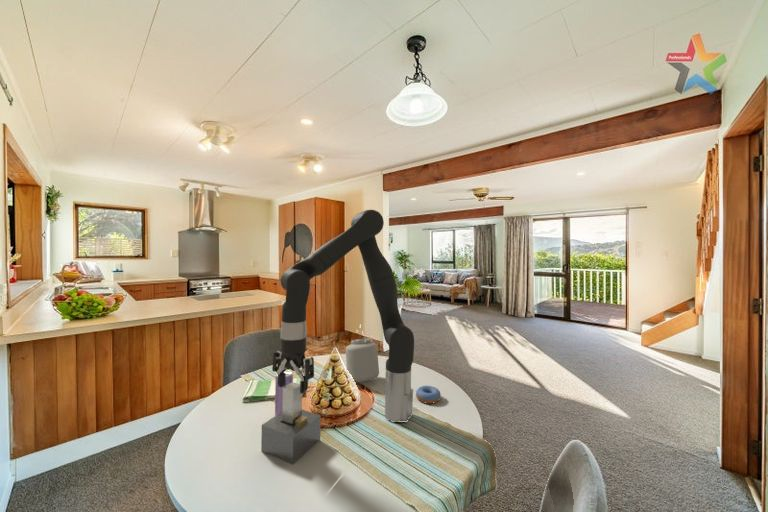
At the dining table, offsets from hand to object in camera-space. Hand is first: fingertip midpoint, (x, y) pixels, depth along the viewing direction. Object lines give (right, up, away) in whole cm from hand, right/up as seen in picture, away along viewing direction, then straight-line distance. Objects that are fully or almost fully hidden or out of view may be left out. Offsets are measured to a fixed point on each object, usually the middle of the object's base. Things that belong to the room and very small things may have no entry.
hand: (292, 389), depth 89 cm
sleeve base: (0, -17, 0) cm, 17 cm away
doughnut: (+46, -18, +31) cm, 58 cm away
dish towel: (-18, -18, +36) cm, 44 cm away
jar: (+17, -18, +49) cm, 55 cm away
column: (0, -17, 0) cm, 17 cm away
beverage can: (-8, -17, +17) cm, 26 cm away
